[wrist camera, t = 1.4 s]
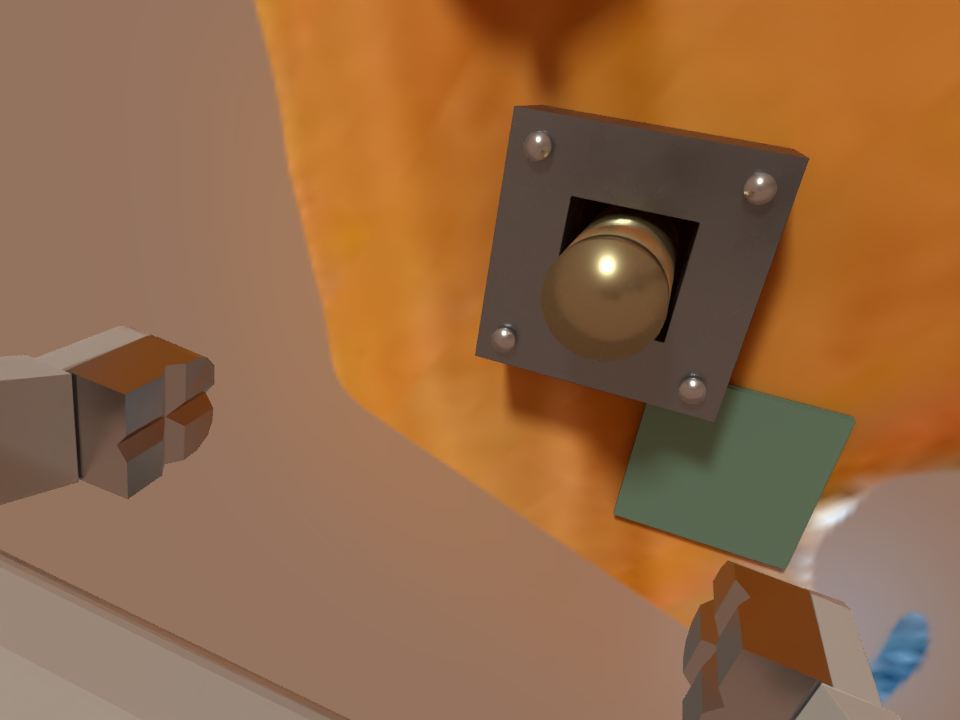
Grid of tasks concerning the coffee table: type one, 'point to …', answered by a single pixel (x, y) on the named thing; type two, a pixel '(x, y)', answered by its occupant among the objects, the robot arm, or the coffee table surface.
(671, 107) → the coffee table surface
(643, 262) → the plug
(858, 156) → the coffee table surface
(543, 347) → the housing
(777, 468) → the coaster
